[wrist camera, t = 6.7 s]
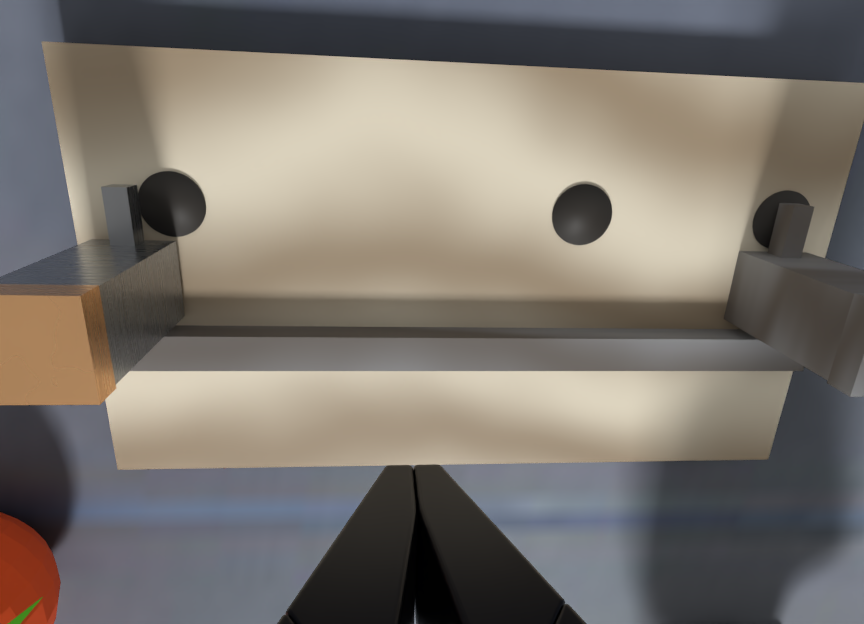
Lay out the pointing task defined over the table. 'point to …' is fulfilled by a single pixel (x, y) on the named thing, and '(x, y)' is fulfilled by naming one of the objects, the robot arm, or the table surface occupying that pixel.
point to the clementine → (26, 575)
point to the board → (466, 255)
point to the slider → (88, 311)
